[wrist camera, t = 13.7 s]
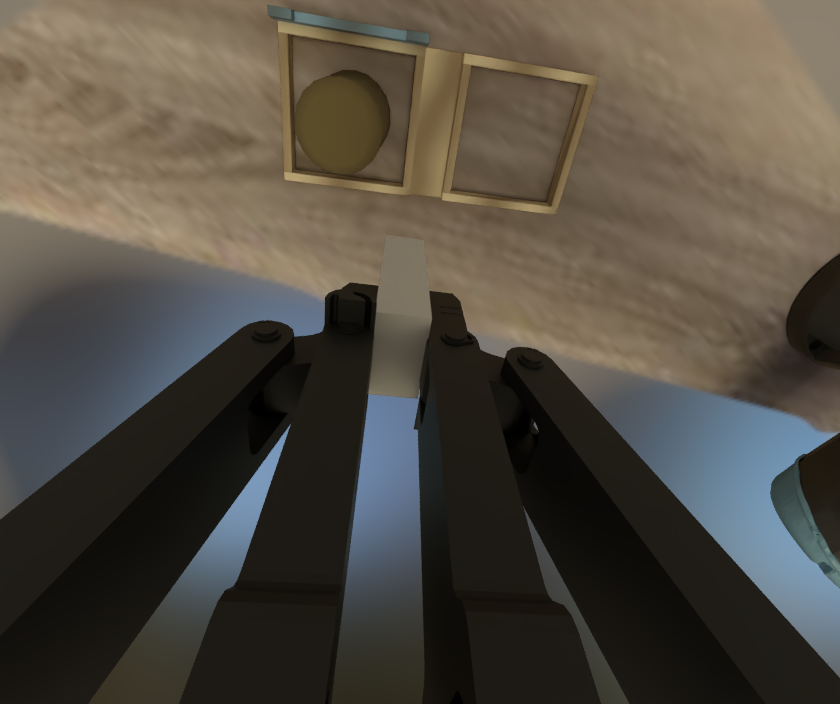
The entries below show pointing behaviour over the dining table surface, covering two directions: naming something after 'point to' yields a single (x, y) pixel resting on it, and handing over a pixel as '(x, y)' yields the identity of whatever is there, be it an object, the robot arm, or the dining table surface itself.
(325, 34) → the caddy
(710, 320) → the dining table surface
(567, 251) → the dining table surface
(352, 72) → the cork
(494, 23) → the dining table surface
